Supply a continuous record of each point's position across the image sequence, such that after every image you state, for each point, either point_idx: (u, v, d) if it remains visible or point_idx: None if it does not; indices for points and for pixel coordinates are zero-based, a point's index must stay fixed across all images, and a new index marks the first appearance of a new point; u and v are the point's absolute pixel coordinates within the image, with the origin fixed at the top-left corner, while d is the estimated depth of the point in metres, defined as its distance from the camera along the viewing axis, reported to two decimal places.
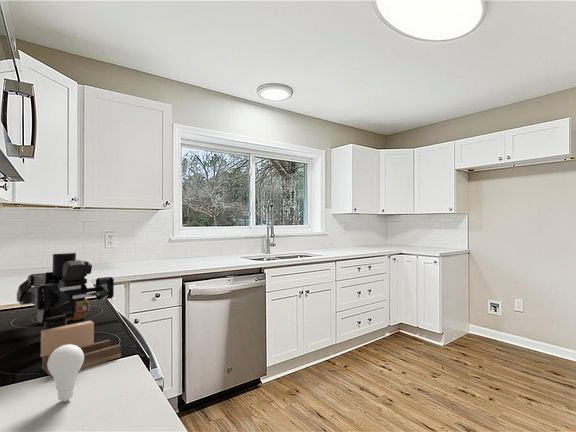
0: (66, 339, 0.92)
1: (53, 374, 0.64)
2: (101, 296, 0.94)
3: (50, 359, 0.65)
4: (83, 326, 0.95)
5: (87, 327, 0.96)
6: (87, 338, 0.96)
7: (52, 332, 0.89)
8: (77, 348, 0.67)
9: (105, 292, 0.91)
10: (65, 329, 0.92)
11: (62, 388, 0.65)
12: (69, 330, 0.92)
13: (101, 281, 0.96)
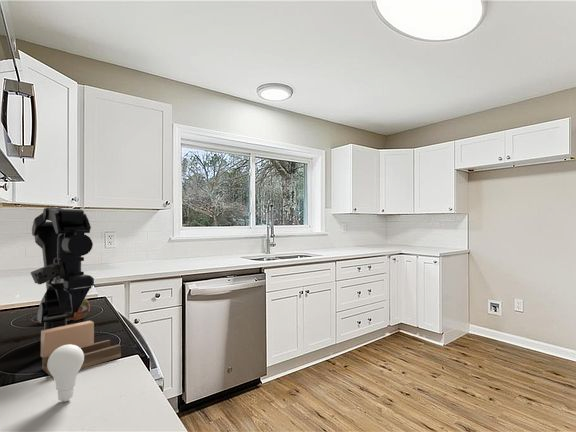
0: (66, 339, 0.92)
1: (53, 374, 0.64)
2: None
3: (50, 359, 0.65)
4: (83, 326, 0.95)
5: (87, 327, 0.96)
6: (87, 338, 0.96)
7: (52, 332, 0.89)
8: (77, 348, 0.67)
9: None
10: (65, 329, 0.92)
11: (62, 388, 0.65)
12: (69, 330, 0.92)
13: (66, 291, 0.89)
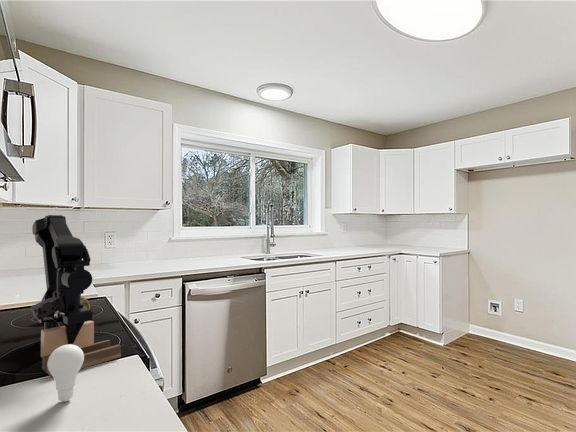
0: (66, 338, 0.92)
1: (53, 374, 0.64)
2: None
3: (50, 359, 0.65)
4: (83, 326, 0.95)
5: (87, 326, 0.96)
6: (87, 338, 0.96)
7: (52, 332, 0.89)
8: (77, 348, 0.67)
9: None
10: (65, 329, 0.92)
11: (62, 388, 0.65)
12: None
13: (61, 324, 0.90)
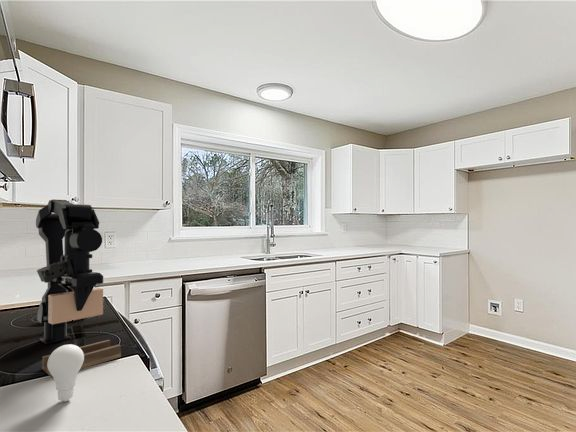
0: (75, 304, 0.88)
1: (53, 374, 0.64)
2: None
3: (50, 359, 0.65)
4: (92, 292, 0.91)
5: (96, 293, 0.92)
6: (96, 305, 0.92)
7: (60, 296, 0.85)
8: (77, 348, 0.67)
9: None
10: (73, 294, 0.87)
11: (62, 388, 0.65)
12: None
13: (70, 288, 0.86)
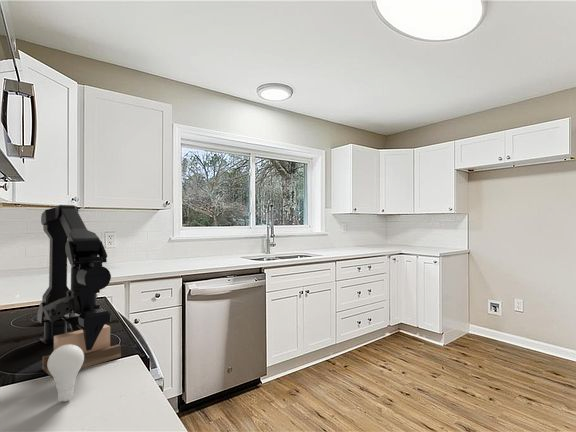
0: (81, 345, 0.84)
1: (53, 374, 0.64)
2: None
3: (50, 359, 0.65)
4: None
5: (103, 331, 0.88)
6: (103, 344, 0.88)
7: (66, 337, 0.81)
8: (77, 348, 0.67)
9: None
10: (80, 334, 0.84)
11: (62, 388, 0.65)
12: None
13: (79, 327, 0.81)
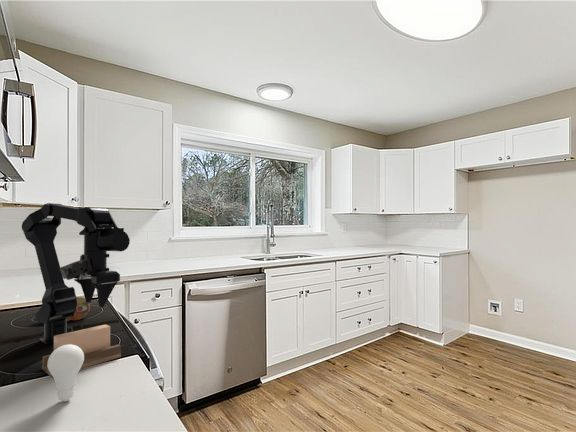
0: (81, 345, 0.84)
1: (53, 374, 0.64)
2: None
3: (50, 359, 0.65)
4: (99, 331, 0.87)
5: (103, 331, 0.88)
6: (103, 344, 0.88)
7: (66, 337, 0.81)
8: (77, 348, 0.67)
9: None
10: (80, 334, 0.84)
11: (62, 388, 0.65)
12: (84, 336, 0.84)
13: (93, 286, 0.92)
